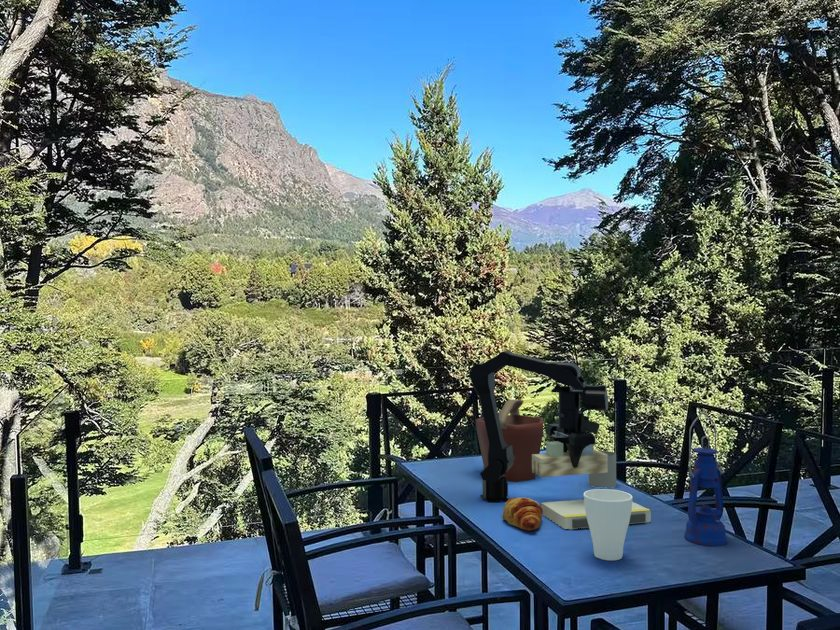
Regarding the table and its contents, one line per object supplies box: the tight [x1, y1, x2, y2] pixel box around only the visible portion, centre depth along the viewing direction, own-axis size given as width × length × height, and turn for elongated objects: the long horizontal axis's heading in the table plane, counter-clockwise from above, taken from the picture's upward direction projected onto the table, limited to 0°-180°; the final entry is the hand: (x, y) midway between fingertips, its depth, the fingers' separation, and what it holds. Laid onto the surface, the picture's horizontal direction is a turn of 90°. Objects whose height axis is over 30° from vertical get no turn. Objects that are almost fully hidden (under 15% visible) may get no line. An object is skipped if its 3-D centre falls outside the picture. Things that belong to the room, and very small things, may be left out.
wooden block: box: [532, 449, 608, 478], centre depth 188 cm, size 20×6×5 cm, turn 105°
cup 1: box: [588, 450, 617, 488], centre depth 211 cm, size 8×8×10 cm
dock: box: [540, 498, 652, 530], centre depth 177 cm, size 24×15×3 cm, turn 104°
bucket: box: [475, 399, 544, 483], centre depth 224 cm, size 24×22×25 cm
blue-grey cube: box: [581, 444, 594, 455], centre depth 189 cm, size 4×4×4 cm
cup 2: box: [583, 488, 633, 562], centre depth 149 cm, size 10×10×14 cm
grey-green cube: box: [545, 441, 563, 457], centre depth 186 cm, size 4×4×4 cm
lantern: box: [683, 411, 729, 547], centre depth 160 cm, size 11×9×30 cm
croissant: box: [502, 497, 543, 532], centre depth 175 cm, size 21×10×8 cm, turn 7°
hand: (569, 465), depth 188 cm, fingers closed on wooden block, 6 cm apart
